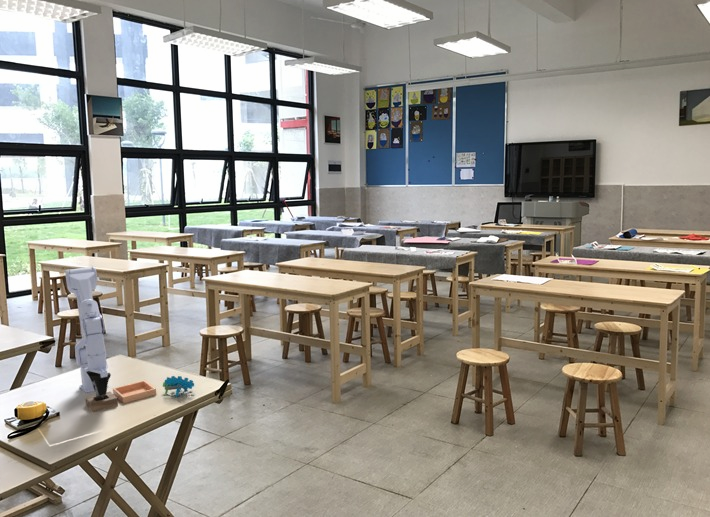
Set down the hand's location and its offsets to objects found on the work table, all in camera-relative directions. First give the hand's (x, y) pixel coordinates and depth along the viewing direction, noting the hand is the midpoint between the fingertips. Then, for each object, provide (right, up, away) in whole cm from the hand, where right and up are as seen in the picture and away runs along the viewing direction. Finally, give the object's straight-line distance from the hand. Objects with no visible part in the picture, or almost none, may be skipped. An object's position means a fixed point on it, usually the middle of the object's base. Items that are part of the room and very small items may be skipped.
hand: (100, 392), depth 201 cm
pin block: (0, -5, +1) cm, 5 cm away
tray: (+8, -3, +9) cm, 13 cm away
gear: (+23, -3, +9) cm, 25 cm away
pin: (0, -4, +1) cm, 4 cm away
